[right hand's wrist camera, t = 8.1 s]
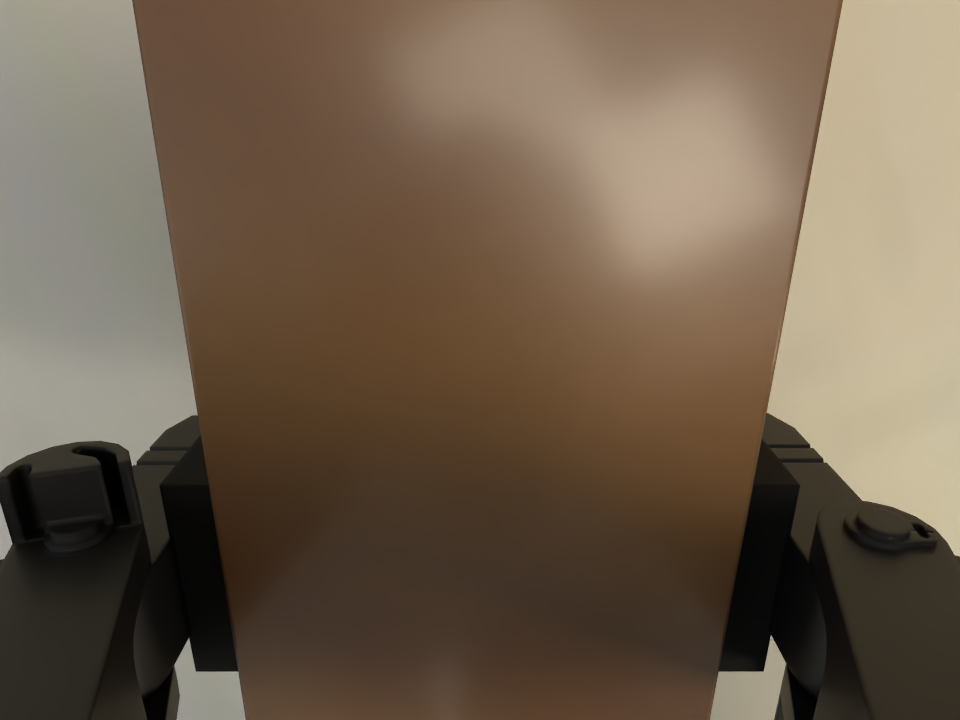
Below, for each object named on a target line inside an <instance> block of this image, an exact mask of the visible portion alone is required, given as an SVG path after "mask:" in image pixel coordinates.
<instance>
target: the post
mask: <svg viewBox="0 0 960 720" xmlns="http://www.w3.org/2000/svg"><path fill="white" fill-rule="evenodd" d="M132 1H133V7H134V14H135V20H136V26H137V33H138V39H139V45H140V52H141V58H142V64H143V71H144V77H145V83H146V90H147V96H148V102H149V109H150V115H151V121H152V128H153V134H154V140H155V147H156V153H157V159H158V166H159V172H160V178H161V185H162V191H163V197H164V204H165V210H166V216H167V223H168V229H169V235H170V242H171V248H172V254H173V261H174V267H175V273H176V280H177V286H178V292H179V299H180V305H181V311H182V318H183V324H184V330H185V337H186V343H187V349H188V356H189V362H190V368H191V375H192V381H193V387H194V394H195V400H196V406H197V413H198V419H199V425H200V432H201V438H202V444H203V451H204V457H205V463H206V470H207V476H208V482H209V489H210V495H211V501H212V508H213V514H214V520H215V527H216V533H217V539H218V546H219V552H220V558H221V565H222V571H223V577H224V584H225V590H226V596H227V603H228V609H229V615H230V622H231V628H232V634H233V641H234V647H235V653H236V660H237V666H238V672H239V679H240V685H241V691H242V698H243V704H244V710H245V717H246V720H710V715H711V709H712V704H713V698H714V693H715V688H716V682H717V677H718V671H719V666H720V661H721V655H722V650H723V644H724V639H725V634H726V628H727V623H728V617H729V612H730V607H731V601H732V596H733V590H734V585H735V580H736V574H737V569H738V563H739V558H740V553H741V547H742V542H743V536H744V531H745V526H746V520H747V515H748V509H749V504H750V499H751V493H752V488H753V482H754V477H755V472H756V466H757V461H758V455H759V450H760V445H761V439H762V434H763V428H764V423H765V418H766V412H767V407H768V401H769V396H770V391H771V385H772V380H773V374H774V369H775V364H776V358H777V353H778V347H779V342H780V337H781V331H782V326H783V320H784V315H785V310H786V304H787V299H788V293H789V288H790V283H791V277H792V272H793V266H794V261H795V256H796V250H797V245H798V239H799V234H800V229H801V223H802V218H803V212H804V207H805V202H806V196H807V191H808V185H809V180H810V175H811V169H812V164H813V158H814V153H815V148H816V142H817V137H818V132H819V126H820V121H821V115H822V110H823V105H824V99H825V94H826V88H827V83H828V78H829V72H830V67H831V61H832V56H833V51H834V45H835V40H836V34H837V29H838V24H839V18H840V13H841V7H842V2H843V0H132Z"/></svg>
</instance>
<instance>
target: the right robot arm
mask: <svg viewBox="0 0 960 720" xmlns="http://www.w3.org/2000/svg"><path fill="white" fill-rule="evenodd" d="M0 503H1V506H2V510H3V513H4V516H5V520H6V523H7V526H8V530H9V533H10V536H11V540H12V543H13V544H12V546H11V548H10V550H9V552H8V553H7V555H6V557H5V559H2V560H0V720H176V719H177V712H178V705H179V697H180V694H179V688H178V681H177V676H176V672H175V667H174V664H175V662H176V661H177V659H178V657H179V655H180V653H181V651H182V649H183V647H184V646H185V644H186V642H187V640H188V638H189V639H190V644H191V649H192V654H193V659H194V664H195V669H196V671H238V666H237V660H236V653H235V647H234V641H233V634H232V628H231V622H230V615H229V609H228V603H227V596H226V590H225V584H224V577H223V571H222V565H221V558H220V552H219V546H218V539H217V533H216V527H215V520H214V514H213V508H212V501H211V495H210V489H209V482H208V476H207V470H206V463H205V457H204V451H203V444H202V438H201V432H200V425H199V419H198V416H190V417H189V418H187V419H185V420H183V421H182V422H180V423H178V424H176V425H174V426H173V427H171V428H169V429H167V430H166V431H165V432H164V433H163V434H162V435H161V436H160V437H159V438H158V439H157V440H156V441H155V443H154V444H153V445H152V446H151V447H150V451H146V452H145V453H144V454H143V455H142V457H141V458H140V459H139V460H138V461H137V465H133V466H132V464H131V460H130V455H129V451H128V450H126V449H125V448H123V447H122V446H120V445H119V444H115V443H109V442H103V441H90V442H75V443H70V444H65V445H60V446H55V447H51V448H48V449H45V450H42V451H39V452H36V453H33V454H30V455H27V456H26V457H24V458H22V459H20V460H18V461H16V462H14V463H12V464H11V465H9V466H7V467H6V468H5V469H4V470H2V471H1V472H0ZM771 635H772V637H773V639H774V641H775V643H776V645H777V646H778V648H779V650H780V652H781V654H782V656H783V658H784V660H785V661H786V667H785V671H784V676H783V681H782V686H781V690H780V695H779V700H778V704H777V709H776V714H775V719H774V720H960V557H959V556H955V555H954V554H953V552H952V550H951V548H950V547H949V545H948V543H947V542H946V541H945V540H944V538H943V537H942V536H941V535H940V534H939V533H938V532H937V531H936V529H934V528H933V527H931V526H930V525H928V524H926V523H925V522H923V521H922V520H920V519H919V518H917V517H915V516H913V515H910V514H908V513H906V512H903V511H901V510H898V509H896V508H893V507H890V506H885V505H881V504H877V503H872V502H868V501H862V500H861V499H860V498H859V497H858V496H857V495H856V494H855V493H854V491H853V490H852V489H851V488H850V487H849V486H848V485H847V484H846V483H845V482H844V481H843V480H842V479H841V478H840V476H839V475H838V474H837V473H836V472H835V471H834V470H833V469H832V468H831V467H830V466H829V465H828V464H827V463H824V462H823V458H822V457H821V456H820V455H819V454H818V453H817V452H816V451H815V450H814V449H813V448H810V444H809V443H808V442H807V441H806V440H805V439H804V438H803V437H802V436H801V435H800V434H799V432H798V431H797V430H796V429H795V428H794V427H792V426H790V425H788V424H786V423H785V422H783V421H781V420H779V419H777V418H776V417H774V416H772V415H770V414H768V413H766V418H765V423H764V428H763V434H762V439H761V445H760V450H759V455H758V461H757V466H756V472H755V477H754V482H753V488H752V493H751V499H750V504H749V509H748V515H747V520H746V526H745V531H744V536H743V542H742V547H741V553H740V558H739V563H738V569H737V574H736V580H735V585H734V590H733V596H732V601H731V607H730V612H729V617H728V623H727V628H726V634H725V639H724V644H723V650H722V655H721V661H720V666H719V671H764V667H765V661H766V656H767V651H768V646H769V641H770V636H771Z"/></svg>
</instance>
